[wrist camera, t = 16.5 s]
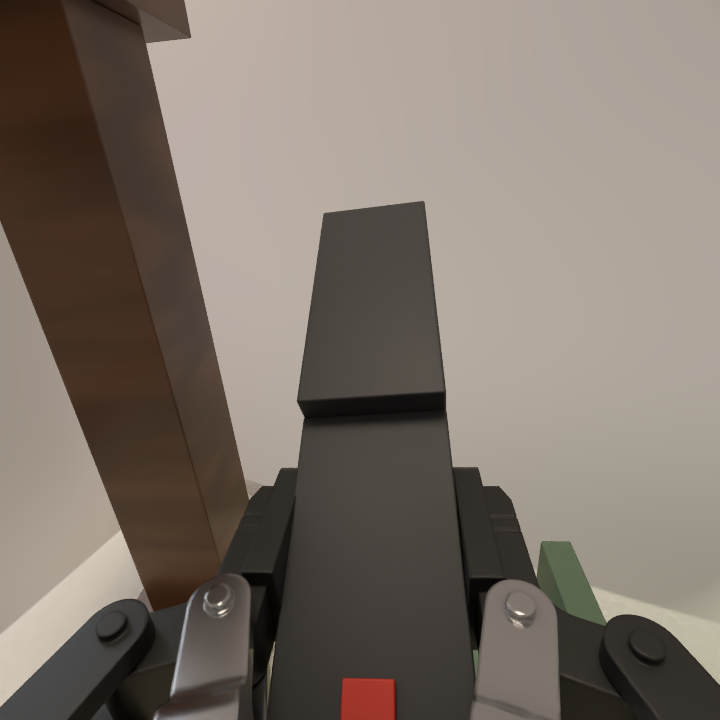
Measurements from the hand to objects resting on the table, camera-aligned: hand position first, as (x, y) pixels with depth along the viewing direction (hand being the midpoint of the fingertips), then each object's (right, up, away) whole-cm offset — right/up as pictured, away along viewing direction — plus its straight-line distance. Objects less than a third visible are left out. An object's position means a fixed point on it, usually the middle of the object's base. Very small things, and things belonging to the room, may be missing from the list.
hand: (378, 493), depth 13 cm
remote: (0, +1, +1) cm, 2 cm away
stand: (-10, -11, +16) cm, 22 cm away
